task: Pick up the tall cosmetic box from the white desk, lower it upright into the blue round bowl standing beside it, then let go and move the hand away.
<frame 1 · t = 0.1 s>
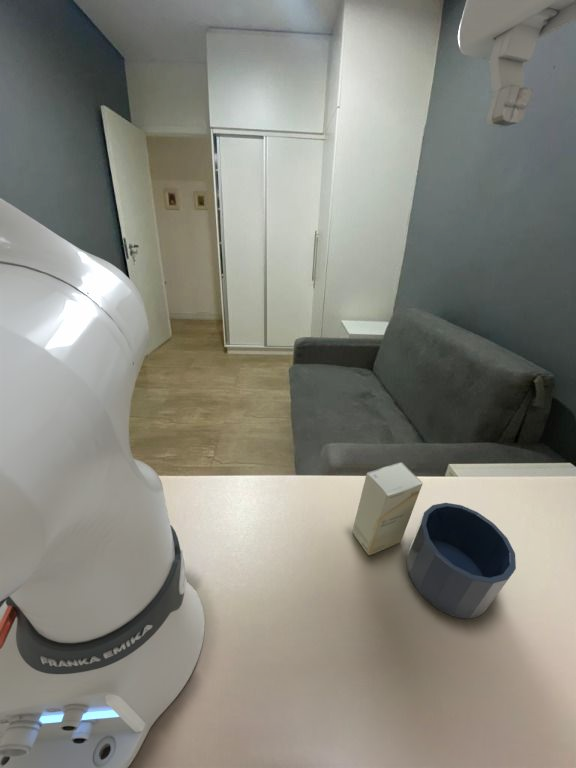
hand: (571, 106, 17), 48 cm above the table, tool pointing down, fingers open, 8 cm apart
blue round bowl: (446, 574, 42), on the table
cosmetic box: (376, 536, 46), on the table
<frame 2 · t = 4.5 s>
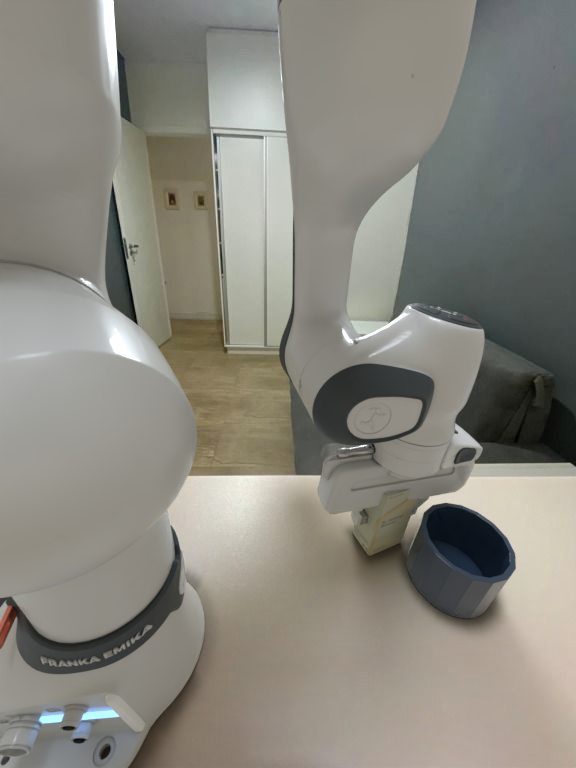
hand: (383, 516, 44), 5 cm above the table, tool pointing down, fingers closed on cosmetic box, 6 cm apart
cosmetic box: (376, 537, 46), on the table, touching gripper
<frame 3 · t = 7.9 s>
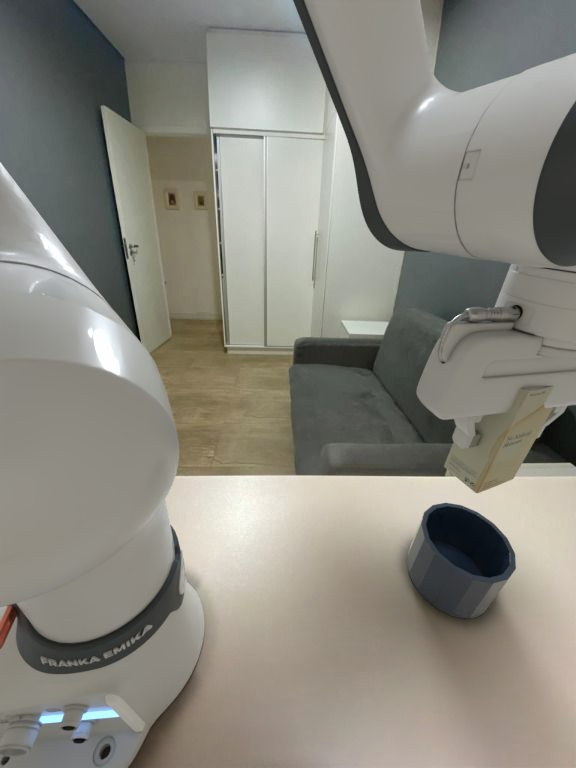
hand: (495, 439, 32), 23 cm above the table, tool pointing down, fingers closed on cosmetic box, 6 cm apart
cosmetic box: (476, 473, 34), point 18 cm above the table, touching gripper
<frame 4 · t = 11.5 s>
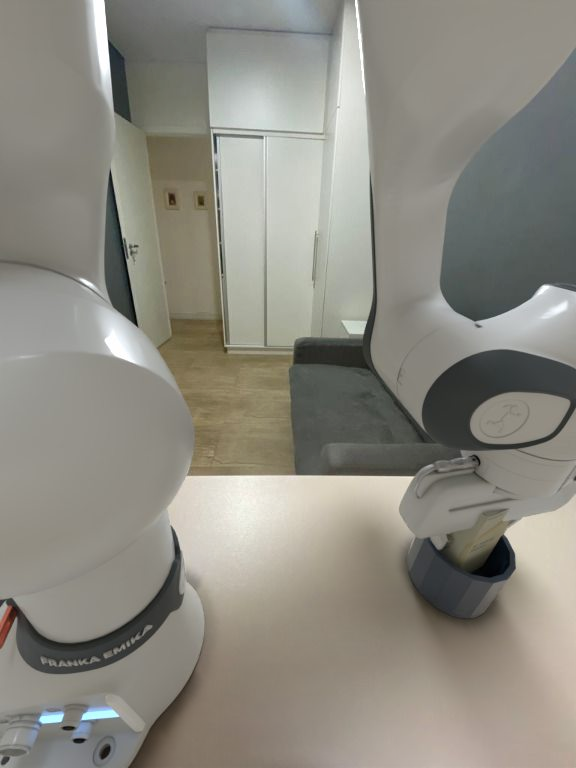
hand: (466, 537, 38), 8 cm above the table, tool pointing down, fingers closed on cosmetic box, 6 cm apart
cosmetic box: (452, 560, 40), point 3 cm above the table, touching gripper
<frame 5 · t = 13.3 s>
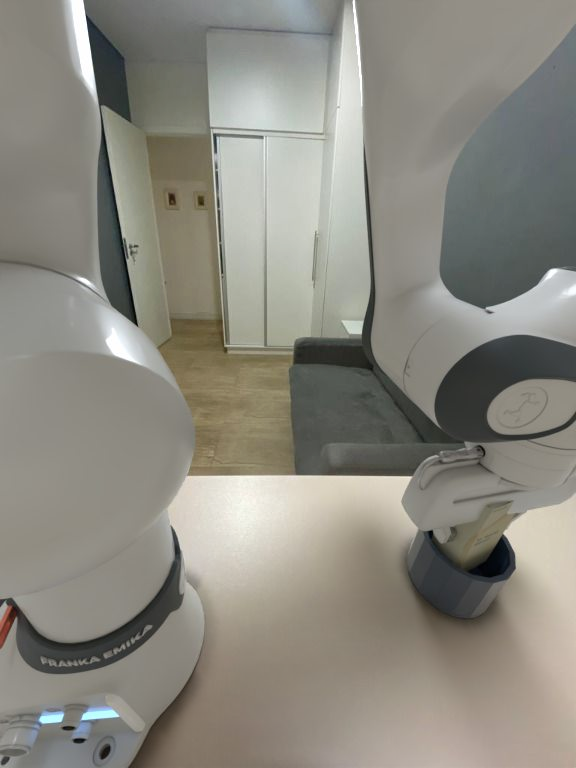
hand: (469, 531, 37), 9 cm above the table, tool pointing down, fingers closed on cosmetic box, 6 cm apart
cosmetic box: (455, 555, 40), point 4 cm above the table, touching gripper
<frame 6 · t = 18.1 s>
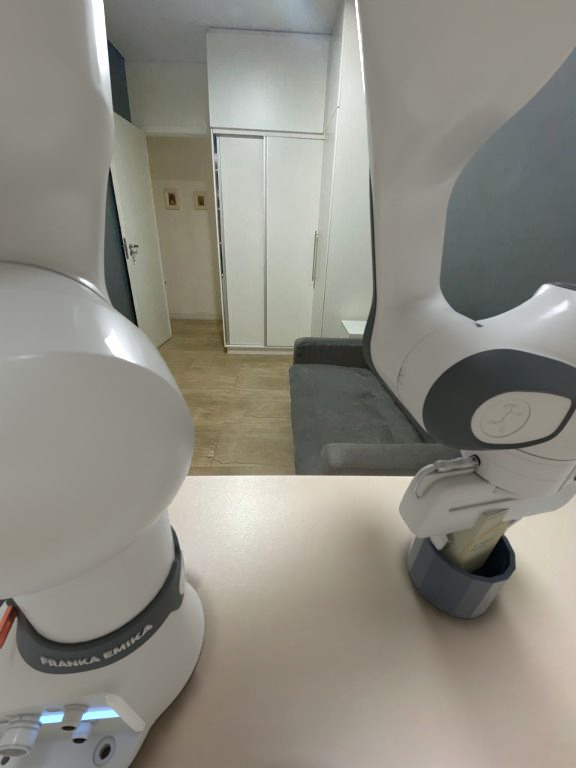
hand: (466, 537, 38), 8 cm above the table, tool pointing down, fingers closed on cosmetic box, 6 cm apart
cosmetic box: (452, 560, 40), point 3 cm above the table, touching gripper
when the fingers open (9 cm above the table, at t = 22.4 s): cosmetic box drops 4 cm, point 1 cm above the table.
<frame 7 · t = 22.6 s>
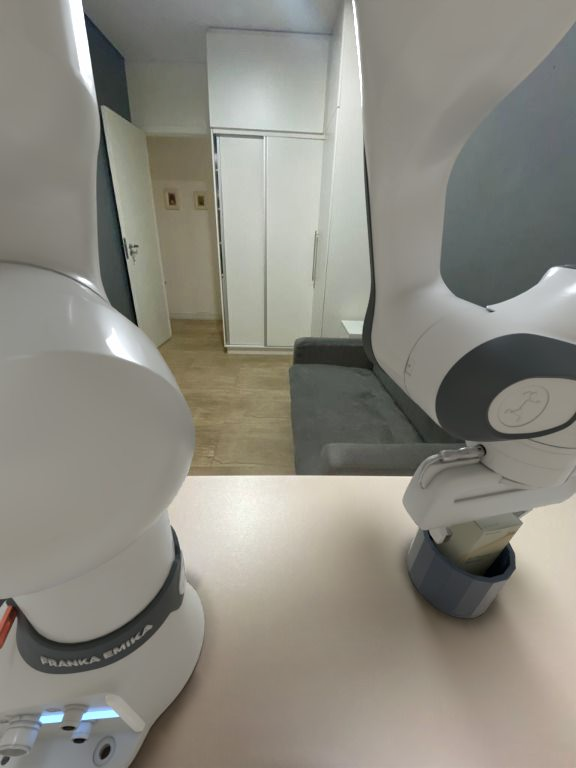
hand: (470, 530, 37), 10 cm above the table, tool pointing down, fingers open, 8 cm apart
cosmetic box: (448, 570, 42), point 1 cm above the table, touching gripper
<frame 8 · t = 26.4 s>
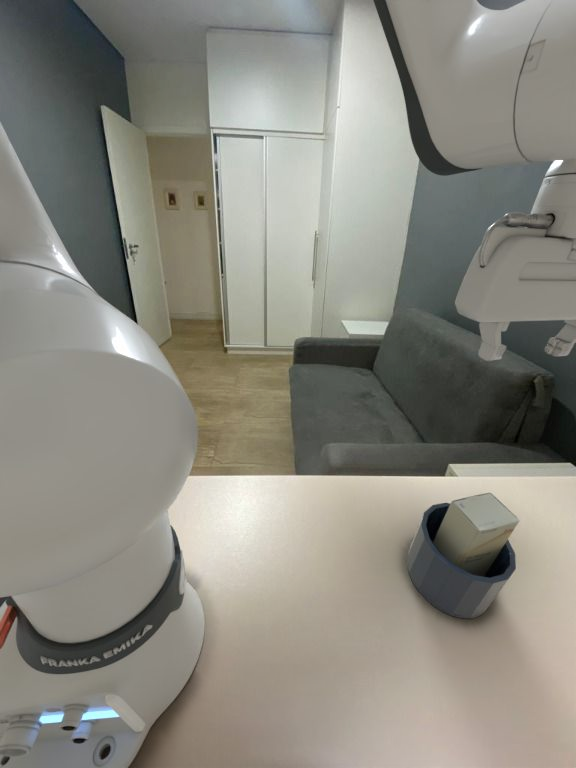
hand: (522, 356, 35), 29 cm above the table, tool pointing down, fingers open, 8 cm apart
cosmetic box: (451, 570, 42), resting on blue round bowl
at the end: cosmetic box 0.8 cm off-centre in the blue round bowl, point 0.4 cm above the blue round bowl's base; cosmetic box tilted 0°; the gripper is holding nothing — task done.
